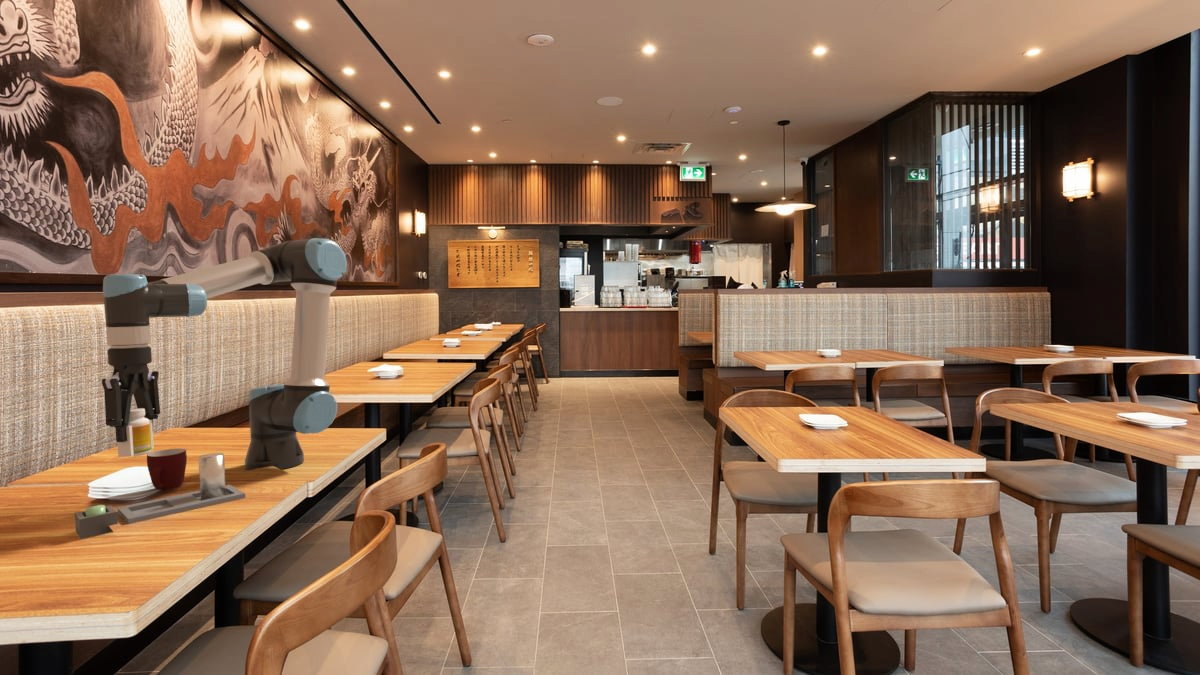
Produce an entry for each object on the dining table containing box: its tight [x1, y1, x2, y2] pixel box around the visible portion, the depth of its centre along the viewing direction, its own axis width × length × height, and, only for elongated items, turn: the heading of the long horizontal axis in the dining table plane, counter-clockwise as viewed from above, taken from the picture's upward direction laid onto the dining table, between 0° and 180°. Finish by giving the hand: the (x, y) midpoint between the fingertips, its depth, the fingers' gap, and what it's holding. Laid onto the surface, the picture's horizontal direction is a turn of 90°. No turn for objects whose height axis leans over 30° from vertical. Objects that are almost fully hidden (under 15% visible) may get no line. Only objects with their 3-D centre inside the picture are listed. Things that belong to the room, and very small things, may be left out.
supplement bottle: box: [128, 407, 153, 457], centre depth 135 cm, size 5×5×10 cm
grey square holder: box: [73, 505, 119, 540], centre depth 128 cm, size 6×6×4 cm
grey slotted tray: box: [116, 484, 246, 525], centre depth 140 cm, size 22×11×2 cm, turn 137°
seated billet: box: [198, 452, 227, 501], centre depth 144 cm, size 5×5×10 cm
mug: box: [146, 448, 188, 491], centre depth 153 cm, size 10×8×10 cm
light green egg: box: [84, 504, 106, 517], centre depth 128 cm, size 3×3×4 cm
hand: (136, 452), depth 135 cm, fingers closed on supplement bottle, 5 cm apart
